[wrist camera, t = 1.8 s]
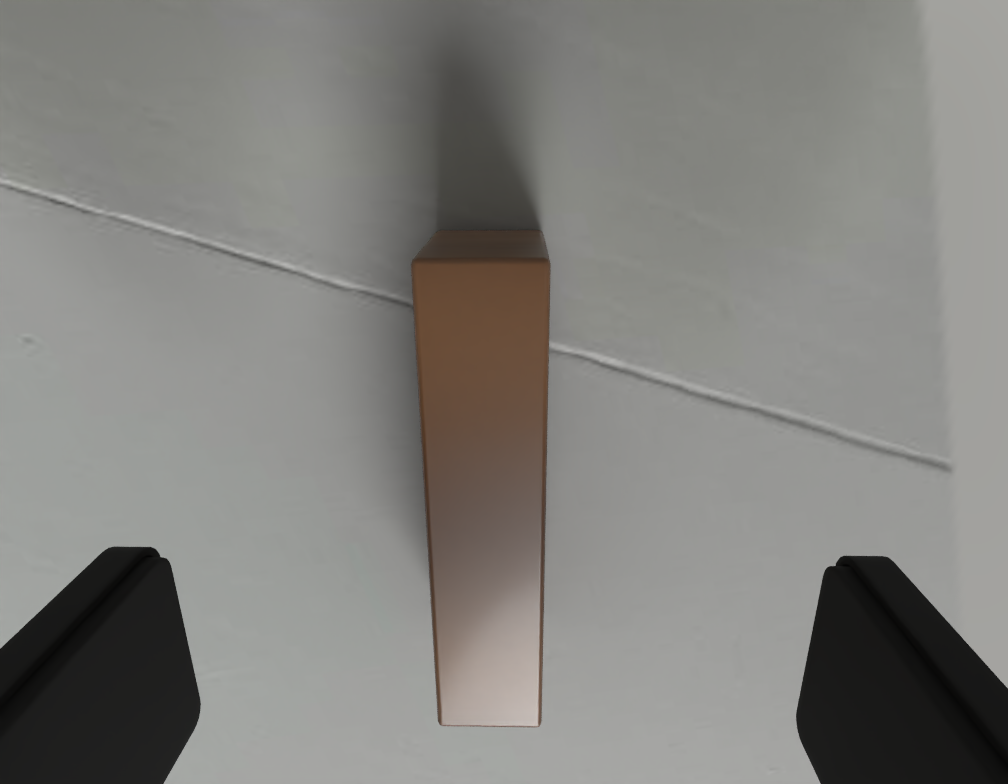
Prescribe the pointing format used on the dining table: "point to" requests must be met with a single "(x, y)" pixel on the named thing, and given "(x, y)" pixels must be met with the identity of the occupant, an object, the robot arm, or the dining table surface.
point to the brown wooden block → (484, 467)
